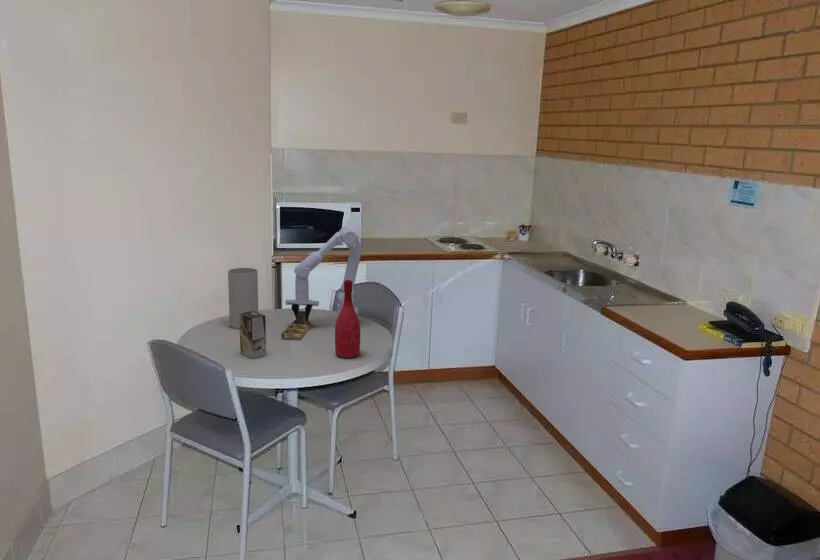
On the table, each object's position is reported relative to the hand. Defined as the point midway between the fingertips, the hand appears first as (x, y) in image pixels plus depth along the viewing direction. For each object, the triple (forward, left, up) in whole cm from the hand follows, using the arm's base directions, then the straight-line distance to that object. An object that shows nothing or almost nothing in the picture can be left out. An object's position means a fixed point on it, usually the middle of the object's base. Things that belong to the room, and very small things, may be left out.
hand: (302, 321), depth 279 cm
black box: (0, 0, -2) cm, 2 cm away
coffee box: (+10, +38, -3) cm, 39 cm away
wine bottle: (-26, +33, -3) cm, 42 cm away
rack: (+1, +7, -3) cm, 8 cm away
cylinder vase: (+26, +1, -3) cm, 26 cm away
